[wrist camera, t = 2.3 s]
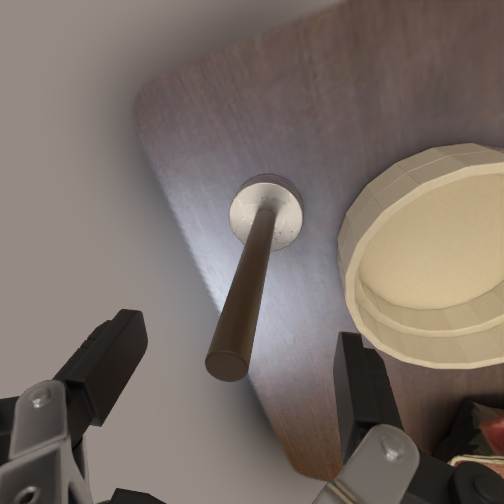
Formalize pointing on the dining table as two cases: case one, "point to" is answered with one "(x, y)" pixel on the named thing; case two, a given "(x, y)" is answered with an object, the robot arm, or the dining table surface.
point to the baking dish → (475, 438)
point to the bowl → (430, 258)
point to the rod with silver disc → (252, 267)
